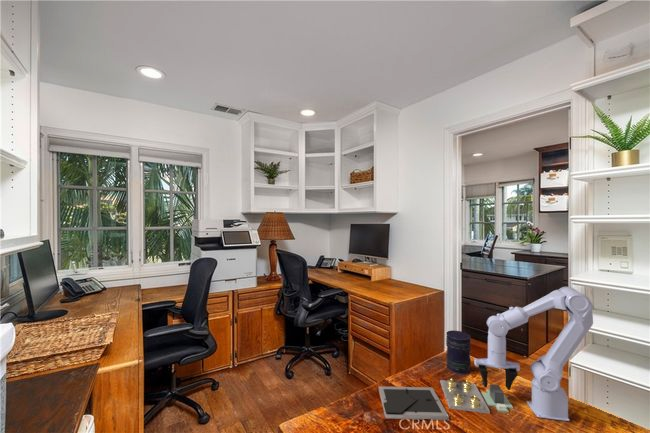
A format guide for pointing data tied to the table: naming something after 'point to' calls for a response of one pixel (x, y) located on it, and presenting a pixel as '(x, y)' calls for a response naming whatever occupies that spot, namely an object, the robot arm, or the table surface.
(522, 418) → the table surface
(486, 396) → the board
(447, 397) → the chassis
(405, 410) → the picture frame
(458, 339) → the storage jar
